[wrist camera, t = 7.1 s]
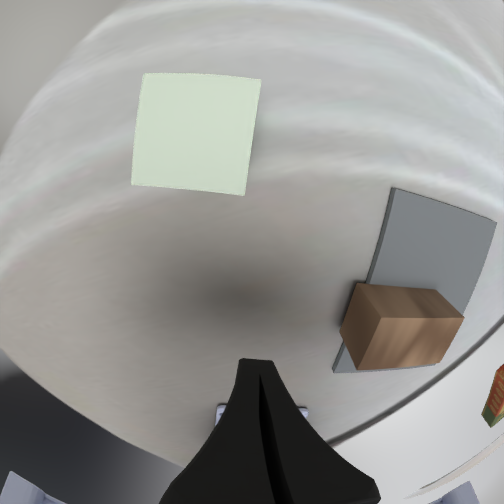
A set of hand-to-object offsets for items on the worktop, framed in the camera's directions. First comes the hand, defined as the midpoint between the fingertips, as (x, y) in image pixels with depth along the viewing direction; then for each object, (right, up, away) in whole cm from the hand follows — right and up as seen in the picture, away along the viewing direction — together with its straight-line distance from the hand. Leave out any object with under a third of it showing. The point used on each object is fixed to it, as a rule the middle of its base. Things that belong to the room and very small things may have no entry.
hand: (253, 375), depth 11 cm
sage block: (-2, +11, +3) cm, 12 cm away
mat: (+13, +2, +7) cm, 14 cm away
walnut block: (+6, +1, +4) cm, 8 cm away
